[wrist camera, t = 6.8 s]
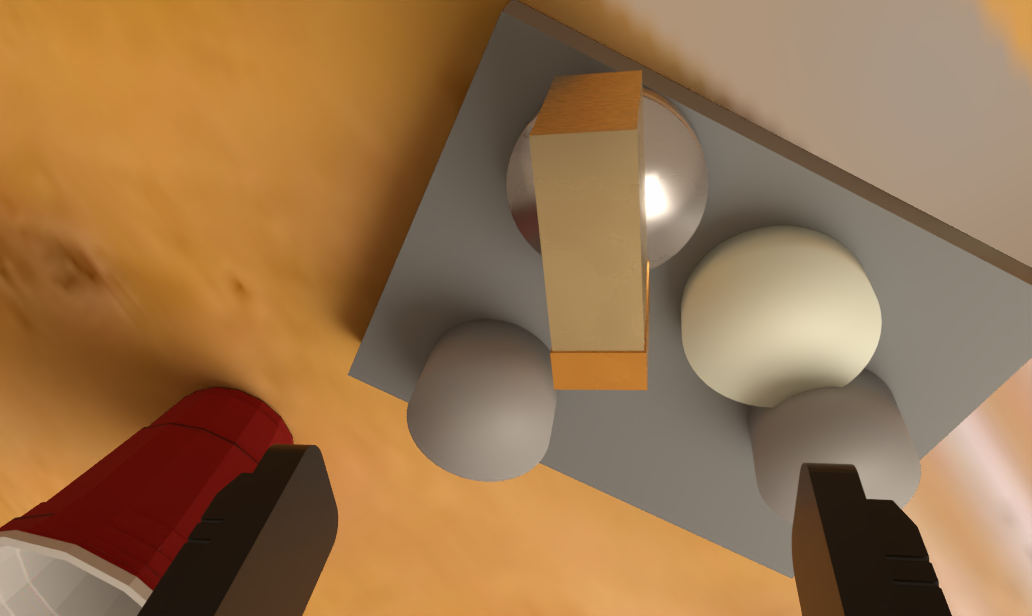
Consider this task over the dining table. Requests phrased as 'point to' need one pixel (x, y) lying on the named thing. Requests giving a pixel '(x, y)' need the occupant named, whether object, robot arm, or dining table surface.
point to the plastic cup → (132, 509)
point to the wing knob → (604, 217)
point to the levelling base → (679, 410)
